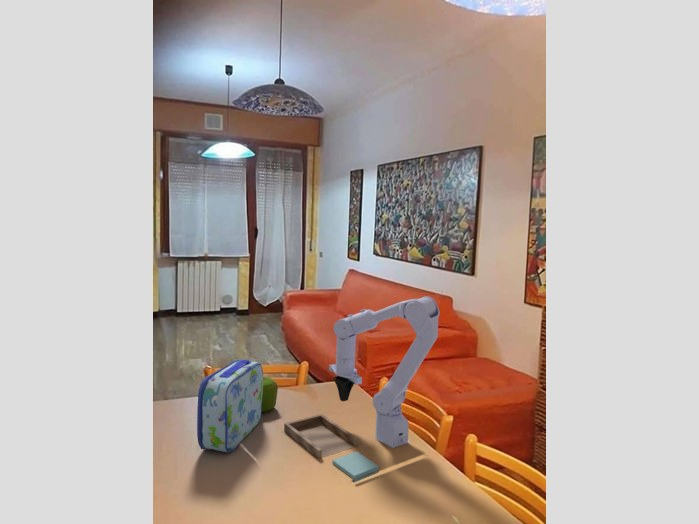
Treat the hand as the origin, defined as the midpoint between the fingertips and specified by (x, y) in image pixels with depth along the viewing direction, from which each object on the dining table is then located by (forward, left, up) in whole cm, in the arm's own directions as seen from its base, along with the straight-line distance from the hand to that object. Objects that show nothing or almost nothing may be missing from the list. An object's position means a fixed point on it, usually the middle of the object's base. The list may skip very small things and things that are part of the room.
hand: (344, 400), depth 144 cm
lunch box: (+12, +31, -9) cm, 34 cm away
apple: (+25, +16, -9) cm, 31 cm away
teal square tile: (-22, +12, -9) cm, 26 cm away
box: (-4, +11, -8) cm, 14 cm away
